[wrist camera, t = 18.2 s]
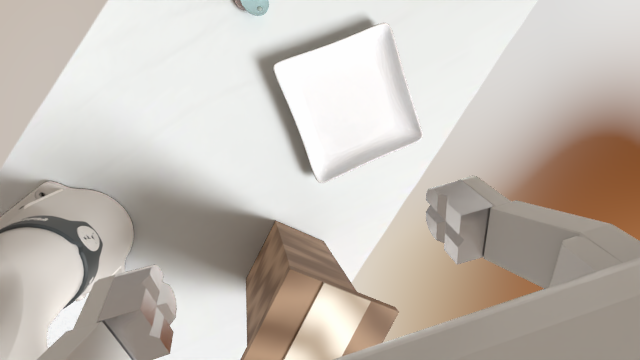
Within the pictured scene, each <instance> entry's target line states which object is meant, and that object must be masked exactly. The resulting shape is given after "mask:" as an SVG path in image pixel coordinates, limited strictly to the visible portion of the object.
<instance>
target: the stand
mask: <svg viewBox="0 0 640 360" xmlns="http://www.w3.org/2000/svg"><path fill="white" fill-rule="evenodd" d="M246 306H247V348H246V350H245V352H244V354H243V356H242V358H241V360H333V359H336V358H339V357H342V356H345V355H348V354H351V353H354V352H357V351H360V350H363V349H366V348H369V347H372V346H375V345H378V344H381V343H383V341H384V339H385V337H386V335H387V333H388V332H389V330H390V328H391V326H392V324H393V322H394V320H395V319H396V317H397V315H398V313H399V311H398V310H397V309H396V308H395V307H393V306H391V305H388V304H386V303H383V302H381V301H378V300H376V299H373V298H371V297H368V296H366V295H363V294H361V293H358V292H357V291H356V290H355V288H354V287H353V285H352V284H351V282H350V281H349V279H348V277H347V276H346V274H345V273H344V271H343V270H342V268H341V267H340V265H339V264H338V262H337V261H336V259H335V258H334V256H333V255H332V253H331V252H330V250H329V249H328V247H327V246H326V244H325V243H324V241H322V240H319V239H317V238H315V237H313V236H310V235H308V234H306V233H303V232H301V231H299V230H296V229H294V228H292V227H289V226H287V225H285V224H282V223H280V222H278V221H275V223H274V225H273V227H272V229H271V230H270V232H269V234H268V236H267V238H266V240H265V242H264V244H263V246H262V248H261V250H260V252H259V254H258V256H257V258H256V260H255V262H254V264H253V266H252V268H251V270H250V272H249V274H248V276H247V278H246Z"/></svg>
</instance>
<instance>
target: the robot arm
mask: <svg viewBox="0 0 640 360" xmlns="http://www.w3.org/2000/svg"><path fill="white" fill-rule="evenodd" d="M42 192H43V193H44V194H45V196H44V197H43V196H42V195H41V193H42ZM426 200H427V202H428V203H429V204H430V206H429V208H428V210H427V211H426V221H427V225H428V228H429V230H430V232H431V234H432V235H433V237H434V238H435V239H436V240H438V241H440V242H443V243H445V245H444V250H445V251H446V252H447V253H448V255H449V256H450V257H451V258H452V259H453V260H454V262H455V263H456V264H460V263H464V262H467V261H471V260H475V259H478V258H482V257H484V259H486V260H488V261H490V262H492V263H494V264H496V265H498V266H500V267H502V268H504V269H506V270H508V271H510V272H512V273H514V274H516V275H518V276H520V277H522V278H524V279H527V280H528V281H530V282H532V283H534V284H536V285H539V286H541V287H542V288H544V289H543V290H540V291H537V292H534V293H531V294H528V295H525V296H522V297H519V298H516V299H513V300H510V301H507V302H504V303H501V304H498V305H495V306H492V307H489V308H486V309H483V310H480V311H477V312H474V313H471V314H468V315H465V316H462V317H459V318H456V319H453V320H450V321H447V322H444V323H441V324H438V325H435V326H432V327H429V328H426V329H423V330H420V331H417V332H414V333H411V334H408V335H405V336H402V337H399V338H396V339H393V340H390V341H387V342H384V343H381V344H378V345H375V346H372V347H369V348H366V349H363V350H360V351H357V352H354V353H351V354H348V355H345V356H342V357H339V358H336V359H333V360H640V241H639V240H637V239H635V238H634V237H632V236H630V235H629V234H627V233H625V232H624V231H622V230H621V229H619V228H617V227H615V226H614V225H612V224H609V223H605V222H601V221H597V220H593V219H589V218H585V217H581V216H577V215H573V214H569V213H565V212H561V211H557V210H553V209H549V208H545V207H541V206H537V205H533V204H528V203H525V202H521V201H512V202H511V201H510V200H508V199H507V198H506V197H504V196H503V195H502V194H500V193H499V192H497V191H496V190H495V189H494V188H492V187H491V186H489V185H488V184H487V183H485V182H484V181H482V180H481V179H480V178H478V177H477V176H469V177H466V178H463V179H460V180H458V181H455V182H451V183H448V184H444V185H440V186H437V187H433V188H430V189H428V190H427V193H426ZM133 239H134V230H133V225H132V221H131V219H130V217H129V215H128V213H127V212H126V210H125V209H124V208H123V207H122V206H121V205H120V204H119V203H118V202H117V201H116V200H114V199H113V198H111V197H109V196H108V195H105V194H103V193H101V192H97V191H94V190H88V189H74V188H69V187H67V186H64V185H62V184H59V183H57V182H53V181H48V182H45V183H43V184H42V185H40V186H39V187H38V188H36V189H35V190H34V191H33V192H31V193H30V194H29V195H28V196H26V197H25V198H24V199H22V200H21V201H20V202H19V203H17V204H16V205H15V206H14V207H12V208H11V209H10V210H9V211H7V212H6V213H5V214H4V215H2V216H1V217H0V360H153V359H156V358H159V357H162V356H165V355H168V354H170V350H171V343H172V337H173V330H172V329H171V327H170V324H171V323H172V322H173V320H174V319H175V318H176V310H177V308H176V298H175V295H174V292H173V290H172V288H171V286H170V285H169V284H166V283H164V282H162V280H163V275H164V274H163V272H162V271H161V269H160V267H159V266H158V265H151V266H147V267H143V268H139V269H135V270H131V271H127V272H125V260H126V258H127V255H128V254H129V252H130V250H131V247H132V244H133ZM87 293H89V296H88V298H87V300H86V302H85V304H84V307H83V309H82V311H81V313H80V315H79V318H78V320H77V322H76V324H75V326H74V328H73V330H70V331H67V332H66V333H65V334H63V335H62V336H61V337H60V338H59V339H58V340H57V341H56V342H55V343H54V344H53V345H52V346H51V347H50V348H48V347H47V332H48V328H49V326H50V325H51V323H52V322H53V321H54V319H55V318H56V317H57V315H58V314H59V313H60V312H61V310H62V309H64V308H65V307H67V306H69V305H70V304H71V303H73V302H74V301H79V300H82V299H83V298H85V297H86V294H87Z"/></svg>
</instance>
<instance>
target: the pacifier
mask: <svg viewBox="0 0 640 360" xmlns="http://www.w3.org/2000/svg"><path fill="white" fill-rule="evenodd" d="M235 3H236V4H237V6H238V7H239V8H241V9H243V10H247V11H248V12H249V13H251V14H253V15H256V16H261V15H264V14H265V13H266V12H267V10H268V7H269V2H268V0H235ZM258 6H260V7H262V10H261V11H259V10H257V7H258Z"/></svg>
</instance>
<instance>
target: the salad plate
mask: <svg viewBox="0 0 640 360" xmlns="http://www.w3.org/2000/svg"><path fill="white" fill-rule="evenodd" d="M273 70H274V73H275V76H276V79H277V81H278V84H279V86H280V88H281V90H282V93H283V95H284V97H285V99H286V102H287V104H288V106H289V109H290V111H291V114H292V116H293V118H294V121H295V123H296V126H297V128H298V131H299V134H300V136H301V139H302V142H303V144H304V147H305V150H306V153H307V156H308V159H309V163H310V166H311V168H312V171H313V173H314V176H315V178H316V180H317V181H318V182H319V183H324V182H328V181H330V180H333V179H335V178H337V177H339V176H341V175H344V174H346V173H348V172H350V171H352V170H354V169H356V168H358V167H361V166H363V165H365V164H367V163H369V162H371V161H373V160H376V159H378V158H380V157H383V156H385V155H388V154H390V153H392V152H395V151H397V150H400V149H402V148H405V147H407V146H410V145H412V144H414V143H416V142H418V141H419V140H421V138H422V130H421V126H420V122H419V119H418V116H417V113H416V110H415V107H414V103H413V100H412V97H411V94H410V90H409V87H408V84H407V81H406V77H405V74H404V71H403V67H402V63H401V60H400V56H399V52H398V49H397V45H396V41H395V38H394V35H393V32H392V29H391V27H390V26H389V24H387V23H381V24H378V25H375V26H372V27H370V28H367V29H365V30H363V31H360V32H358V33H356V34H353V35H351V36H348V37H346V38H344V39H341V40H339V41H336V42H333V43H331V44H328V45H325V46H322V47H319V48H317V49H314V50H311V51H308V52H305V53H302V54H299V55H296V56H293V57H290V58H287V59H284V60H282V61H279V62H277V63H276V64H274V67H273Z"/></svg>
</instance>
